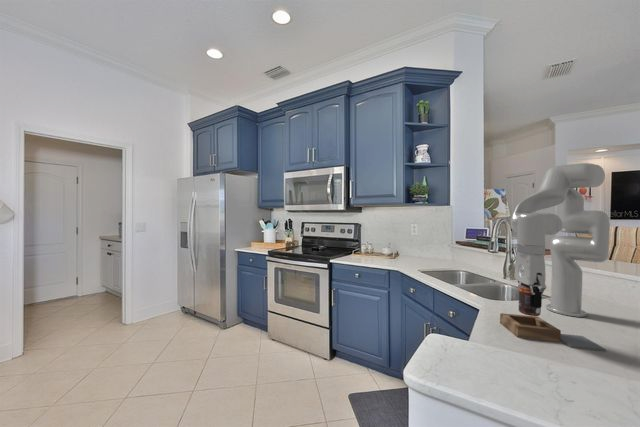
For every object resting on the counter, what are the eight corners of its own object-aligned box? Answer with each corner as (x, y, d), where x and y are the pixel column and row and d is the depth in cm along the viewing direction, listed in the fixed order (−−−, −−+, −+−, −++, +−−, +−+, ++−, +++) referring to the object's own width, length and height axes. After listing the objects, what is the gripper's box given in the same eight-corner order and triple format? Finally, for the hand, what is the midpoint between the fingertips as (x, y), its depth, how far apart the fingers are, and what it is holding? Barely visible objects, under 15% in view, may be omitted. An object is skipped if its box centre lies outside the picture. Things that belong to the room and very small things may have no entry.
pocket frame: (499, 322, 99) (500, 313, 99) (537, 326, 97) (537, 316, 97) (517, 337, 87) (517, 326, 87) (560, 341, 85) (560, 330, 85)
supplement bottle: (544, 317, 89) (545, 283, 89) (524, 316, 90) (524, 281, 90) (534, 311, 95) (535, 278, 95) (515, 309, 96) (515, 277, 96)
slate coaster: (550, 334, 90) (550, 332, 90) (582, 337, 88) (582, 335, 88) (570, 347, 81) (570, 345, 81) (605, 351, 80) (605, 349, 80)
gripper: (506, 246, 101) (505, 294, 102) (532, 253, 84) (531, 311, 85) (528, 247, 100) (527, 296, 100) (560, 254, 83) (559, 313, 83)
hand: (529, 302), depth 92 cm, fingers closed on supplement bottle, 5 cm apart
